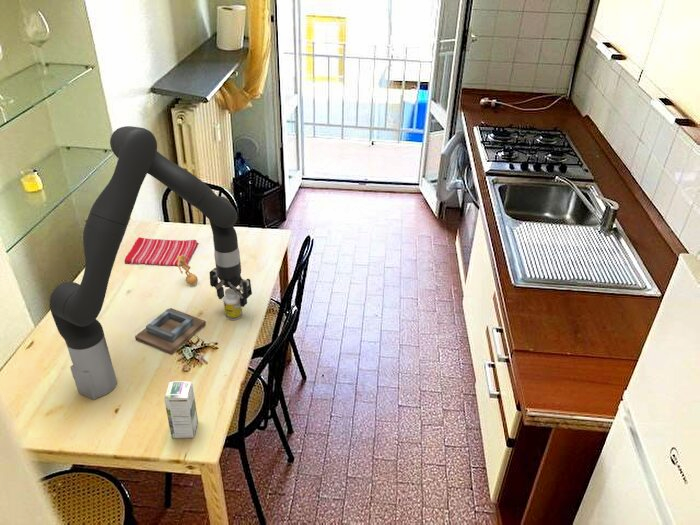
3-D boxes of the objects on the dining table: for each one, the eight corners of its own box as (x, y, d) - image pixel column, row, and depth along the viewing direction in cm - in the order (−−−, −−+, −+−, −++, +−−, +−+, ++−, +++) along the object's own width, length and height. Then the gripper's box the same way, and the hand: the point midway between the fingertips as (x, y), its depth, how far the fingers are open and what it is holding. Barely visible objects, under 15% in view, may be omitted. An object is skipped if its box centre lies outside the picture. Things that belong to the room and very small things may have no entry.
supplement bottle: (221, 315, 184) (219, 291, 179) (235, 308, 187) (232, 284, 182) (232, 322, 181) (229, 298, 176) (245, 315, 184) (243, 291, 179)
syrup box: (176, 421, 147) (167, 380, 139) (199, 420, 147) (192, 380, 139) (171, 438, 142) (162, 398, 134) (195, 438, 143) (187, 397, 135)
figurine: (194, 291, 194) (189, 262, 188) (177, 290, 195) (172, 261, 188) (201, 278, 201) (197, 249, 195) (185, 276, 202) (180, 248, 195)
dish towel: (139, 241, 222) (138, 235, 220) (199, 244, 222) (198, 238, 220) (123, 265, 208) (121, 259, 206) (187, 268, 207) (186, 262, 206)
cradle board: (171, 354, 168) (169, 344, 166) (135, 340, 173) (133, 329, 171) (205, 324, 180) (204, 314, 178) (171, 311, 185) (169, 301, 183)
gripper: (201, 259, 172) (207, 301, 181) (239, 272, 167) (244, 314, 176) (216, 247, 178) (221, 289, 187) (254, 259, 173) (257, 301, 182)
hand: (232, 301), depth 182 cm, fingers open, 8 cm apart
